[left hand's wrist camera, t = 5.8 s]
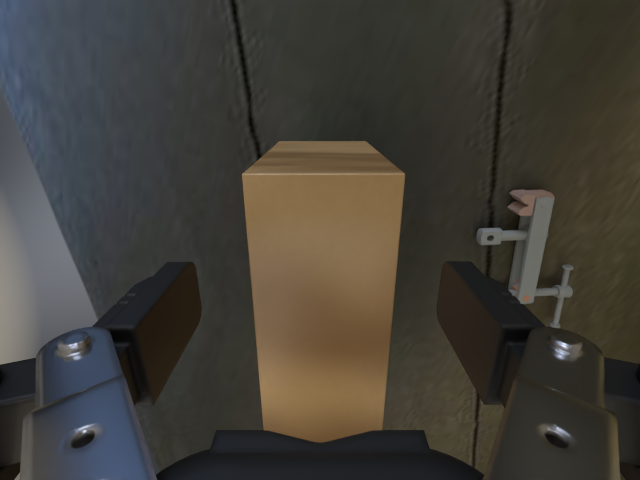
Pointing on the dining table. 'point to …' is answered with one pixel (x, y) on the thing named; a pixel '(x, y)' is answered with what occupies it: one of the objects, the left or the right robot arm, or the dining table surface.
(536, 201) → the clamp
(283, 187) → the box
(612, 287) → the dining table surface
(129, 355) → the left robot arm
